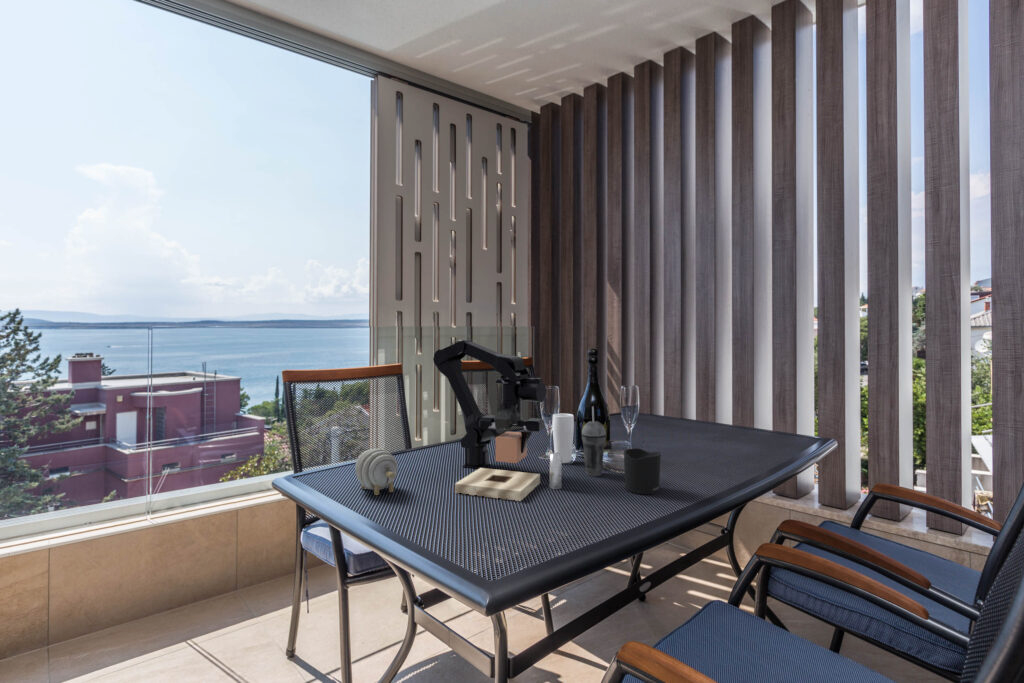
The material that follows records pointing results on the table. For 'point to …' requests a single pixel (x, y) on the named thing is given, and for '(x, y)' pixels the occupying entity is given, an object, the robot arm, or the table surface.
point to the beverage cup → (593, 446)
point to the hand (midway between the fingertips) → (511, 451)
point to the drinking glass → (563, 435)
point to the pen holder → (642, 471)
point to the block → (509, 447)
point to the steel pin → (555, 470)
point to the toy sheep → (376, 470)
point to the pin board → (498, 484)
